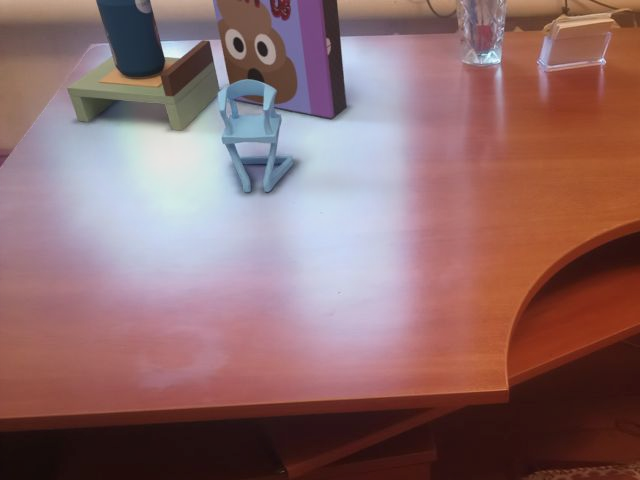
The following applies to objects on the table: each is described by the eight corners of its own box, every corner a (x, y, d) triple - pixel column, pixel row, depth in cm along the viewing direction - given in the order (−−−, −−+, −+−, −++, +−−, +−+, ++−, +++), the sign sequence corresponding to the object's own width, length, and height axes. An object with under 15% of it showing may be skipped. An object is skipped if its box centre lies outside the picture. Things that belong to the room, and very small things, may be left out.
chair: (226, 193, 92) (205, 101, 84) (236, 162, 98) (218, 73, 90) (287, 192, 92) (273, 100, 84) (294, 161, 98) (281, 73, 90)
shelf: (78, 121, 106) (59, 66, 101) (125, 84, 117) (110, 32, 111) (182, 130, 105) (168, 75, 99) (220, 92, 115) (209, 40, 110)
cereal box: (232, 100, 113) (198, -75, 97) (249, 88, 116) (219, -82, 100) (331, 119, 109) (312, -60, 93) (346, 107, 112) (330, -68, 96)
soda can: (177, 69, 108) (156, -18, 100) (140, 84, 104) (115, -5, 96) (145, 59, 111) (122, -26, 103) (107, 74, 106) (80, -14, 98)
